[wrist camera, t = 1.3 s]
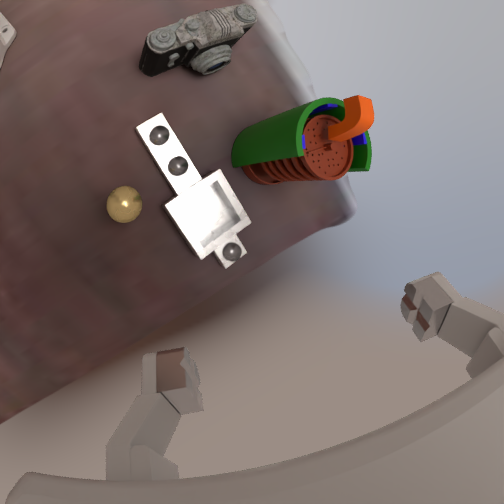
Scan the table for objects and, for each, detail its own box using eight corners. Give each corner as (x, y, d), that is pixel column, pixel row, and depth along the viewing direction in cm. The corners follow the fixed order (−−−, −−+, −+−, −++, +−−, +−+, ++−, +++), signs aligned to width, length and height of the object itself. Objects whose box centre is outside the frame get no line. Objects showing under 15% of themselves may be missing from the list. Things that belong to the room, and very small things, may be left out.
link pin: (103, 200, 34) (99, 200, 26) (126, 183, 35) (129, 178, 27) (118, 223, 35) (119, 230, 27) (141, 206, 36) (148, 208, 28)
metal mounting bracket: (120, 139, 33) (120, 134, 30) (173, 108, 35) (178, 101, 32) (208, 275, 41) (216, 281, 38) (253, 241, 43) (264, 244, 41)
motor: (236, 190, 41) (334, 187, 23) (225, 127, 39) (315, 80, 21) (297, 179, 45) (406, 175, 27) (288, 122, 43) (391, 90, 25)
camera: (155, 99, 34) (169, 69, 25) (134, 60, 32) (143, 22, 23) (246, 62, 38) (281, 34, 29) (226, 28, 36) (256, -6, 27)
